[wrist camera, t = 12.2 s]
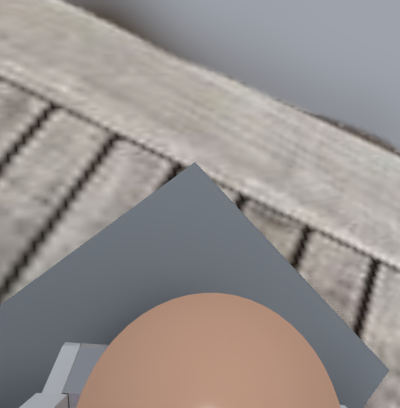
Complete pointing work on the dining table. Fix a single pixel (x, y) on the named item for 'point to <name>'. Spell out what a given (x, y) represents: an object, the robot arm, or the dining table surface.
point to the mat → (170, 289)
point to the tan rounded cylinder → (209, 360)
